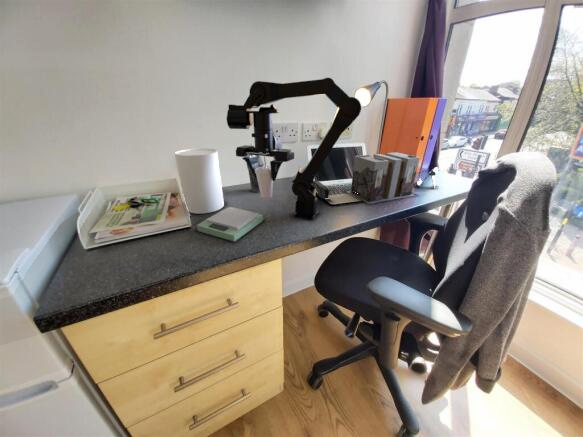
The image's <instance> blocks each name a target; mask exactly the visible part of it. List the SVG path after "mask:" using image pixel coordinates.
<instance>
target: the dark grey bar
mask: <svg viewBox="0 0 583 437" xmlns="http://www.w3.org/2000/svg"><path fill="white" fill-rule="evenodd" d="M312 185H313V186H314V187H315V188H316V191H317V192H318V193H317V192H316V196H317V197H319V198H320V199H322V200H326V201H328V202H332V200H331V199H330V190H329V188H328V187H327V186H326V185H324V184H323V183H322V182H320V181H318V180H314V181H313V183H312ZM325 198H329V199H325Z"/></svg>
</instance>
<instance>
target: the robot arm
mask: <svg viewBox="0 0 583 437" xmlns="http://www.w3.org/2000/svg"><path fill="white" fill-rule="evenodd" d="M322 95H324V96H325V97H327V99H329V101H331V102H332V104H334V105H335V107H337V109H336V112H335V114H334V117H333V120H332V122H331V125H330V126H329V128H328V130H327V132H326V133H325V135H324V137H323V138H322V140H321V142H320V144H319V145H318V146H317V148H316V150H315V152H314V153H313V154H312V156H311V158H310V160H309V162H307V164H306V165H305V167H304V168H302V167H301V166H299V167H298V170H297V173H296V174H295V175H293V178H292V180H291V183H292V185H291V191H292V193H293V194H294V195H295V196H296V200H295V209H294V210H295V213H294V217H297V218H301V219H306V220H310V221H311V220H313V219H314V218H315V217H316V216H317V215H318V214H319V211H318V197H316V196H317V194H316V188H315V187H314V186H313V185H312V183H313V181H315V179H316V175H317V173H318V171H319V170H320V168H321V167H322V165H323V163H324V162H325V160H326V159H327V157H328V155H329V154H330V153H331V151H332V150H333V148H334V146H335V145H336V143H337V142H338V140H339V138H340V137H341V135H342V134H343V133H344V132H345V131H346V130H347V129H348V128H350V126H351V125H352V124H353V122H355V120H357V118H358V117H359V116H360V114H361V112H362V103H361V101H360V100H359V99H358V98H357V97H354V96H349V95H348V94H347V93H346V92H345V91H344V90H343V89H342V88H341V87H340V86H338V84H336V82H335V81H334V80H333V78H332V77H325V78H322V79H313V80H304V81H302V80H301V81H294V82H285V83H280V82H271V81H270V82H269V81H261V80H257V81H255V82H253V83H252V84H251V86H250V87H249V94H248V96H247V99H246V100H245V102H244V103H243V105H241V104H240V105H239V104H238V105H237V104H228V106H227V107H228V109H227V112H226V113H227V114H226V124H227V127H228V128H229V129H230V130H249V129H250V128H251V127H252V126H253V133H251V138H253V139H254V141H253V142H254V145H252V146H251V145H245V144H244V145H241V146H237V147H236V149H235V156H236V157H239V158H242V160H243V161H245V164H246V165H247V164H248V166H249V167H250V169H251V171H252V173H253V174H254V176H255V178H256V179H257V175H256V173H255V169H256V168H258V159H259V156H260V157H264V155H265V156H266V157H269V158H273V160H270V161H269V167H271V175H272V180H273V182H275V181H277V180H276V179H277V177H278V173H279V171H280V168H281V166H282V165H283V163H287V162H290V161H292V160H295V152H294V150H293V149H290V148H283V143H284V141H283V140H281V139H279V138H277V137H276V136H277V135H276V132H274V128H273V127H274V126H273V125H274V124H273V114H279V113H280V110H279V109H277V107H276V106H275V104H274V103H276V102H279V101H281V100H285V99H292V98H304V97H311V96H312V97H313V96H322ZM263 105H264V106H263ZM266 105H269V106H266ZM252 109H258V110H252ZM258 155H259V156H258Z"/></svg>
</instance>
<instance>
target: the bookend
mask: <svg viewBox="0 0 583 437" xmlns="http://www.w3.org/2000/svg"><path fill="white" fill-rule="evenodd" d="M420 159H421V157H419V156H417V155H414V154H406V153H401V152H397V151H395V152H394V151H393V152H385V153H384V154H383V153H373V154H372V155H369V154H361V155H354V162H353V170H352V179H351V186H350V190H346V191H345V192H346V193H347V194H349V195H351V196H352V197H355V198H357V199H358V200H360V201H362V202H364V203H365V204H367V205H370V204H371V205H372V204H377V203H382V202H387V201H392V200H398V199H404V198H409V197H410V198H411V197H416V196H417V195H416V194H414V193H412V192H413V188H414V184H415V180H416V176H417V172H418V168H419V163H420ZM351 190H352V191H351ZM353 191H354V192H353ZM355 192H356V193H355ZM357 193H358V194H357Z"/></svg>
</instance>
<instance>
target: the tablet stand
mask: <svg viewBox="0 0 583 437" xmlns="http://www.w3.org/2000/svg"><path fill="white" fill-rule="evenodd" d="M438 172H439V168H438V167H433V168H432V169H431V171H430V172H429V173H427V174H428V175H426V176H425V178H424V179H423V180H421V179H422V178H419V179H418V180H417V182H416V183H415V187H416V188H420V187H421V186H422V185H423V183H424V182H426V180H427V178H428V177H429V176H431V180H432V185H433V189H434V190H435V189H436V187H437V184H436V178H435V175H436V174H437V173H438Z"/></svg>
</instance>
